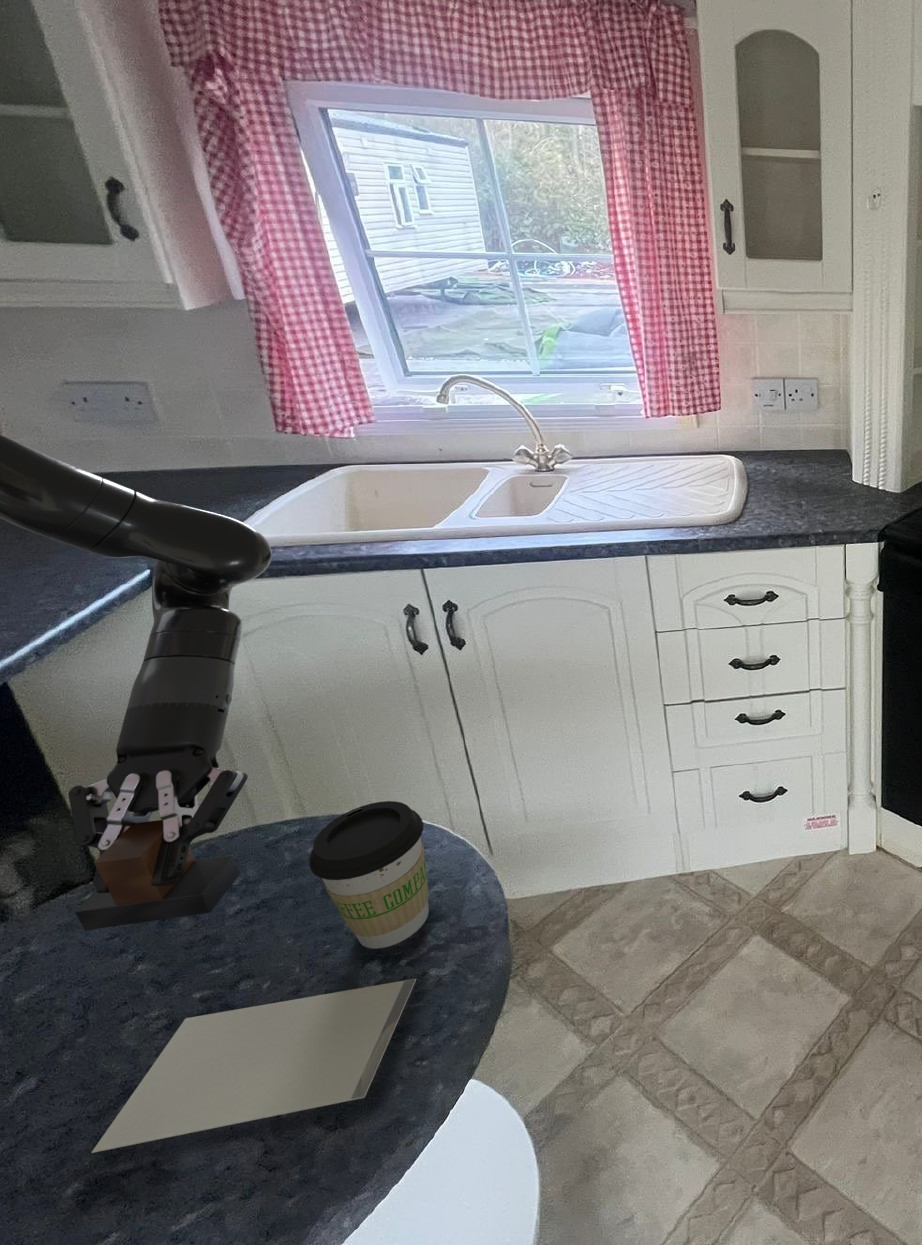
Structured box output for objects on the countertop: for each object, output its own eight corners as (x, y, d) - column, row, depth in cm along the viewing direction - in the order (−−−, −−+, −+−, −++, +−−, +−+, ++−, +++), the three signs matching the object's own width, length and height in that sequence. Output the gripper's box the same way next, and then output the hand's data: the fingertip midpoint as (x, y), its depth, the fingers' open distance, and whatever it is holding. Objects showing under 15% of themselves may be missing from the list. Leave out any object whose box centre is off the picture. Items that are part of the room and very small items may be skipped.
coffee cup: (357, 989, 80) (317, 882, 75) (332, 934, 86) (293, 830, 80) (461, 930, 87) (433, 827, 82) (432, 882, 93) (403, 784, 87)
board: (97, 1163, 65) (90, 1153, 64) (190, 1028, 76) (185, 1018, 75) (368, 1108, 70) (364, 1097, 69) (419, 988, 81) (416, 978, 80)
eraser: (84, 930, 73) (49, 867, 70) (123, 888, 77) (92, 827, 74) (210, 913, 75) (182, 851, 72) (241, 872, 80) (215, 813, 77)
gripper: (63, 708, 74) (6, 903, 68) (237, 693, 78) (198, 878, 71) (124, 720, 81) (77, 899, 75) (281, 706, 84) (249, 876, 78)
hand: (136, 887), depth 73 cm, fingers closed on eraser, 3 cm apart
